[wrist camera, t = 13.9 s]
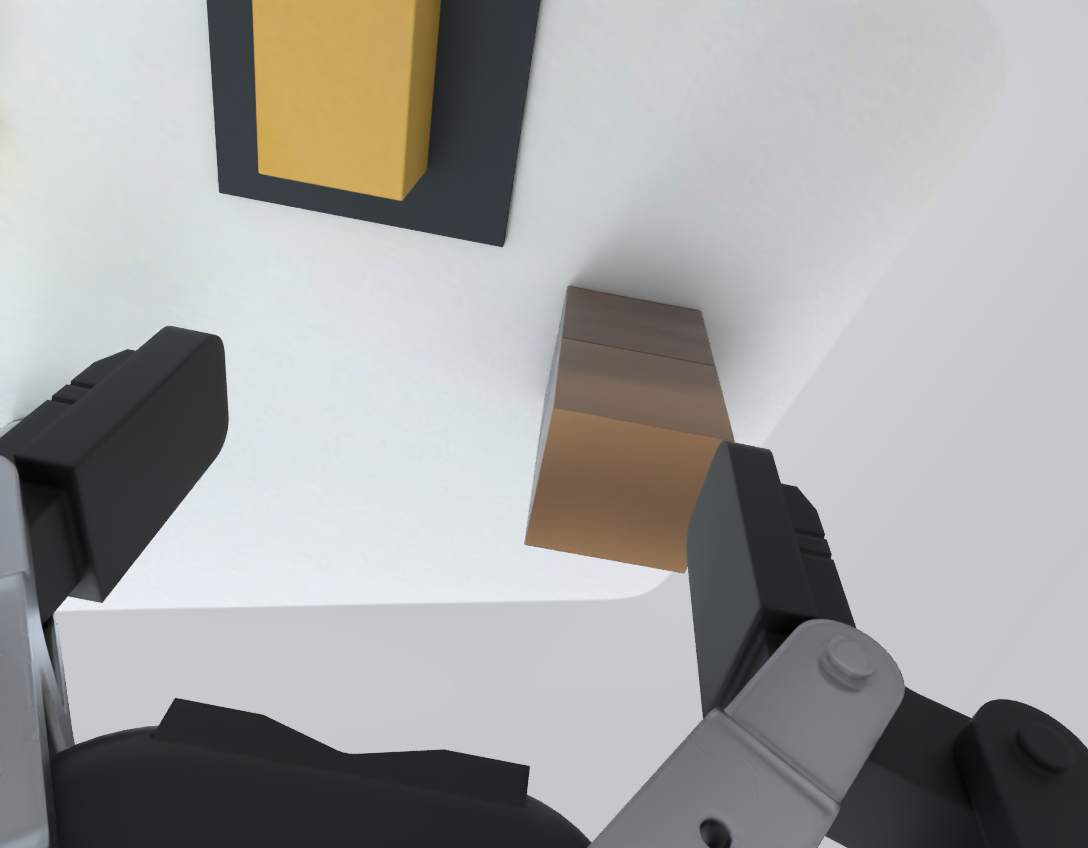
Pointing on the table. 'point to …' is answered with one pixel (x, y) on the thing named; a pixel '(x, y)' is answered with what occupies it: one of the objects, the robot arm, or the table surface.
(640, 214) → the table surface
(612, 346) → the tower
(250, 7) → the mat
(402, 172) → the top block
